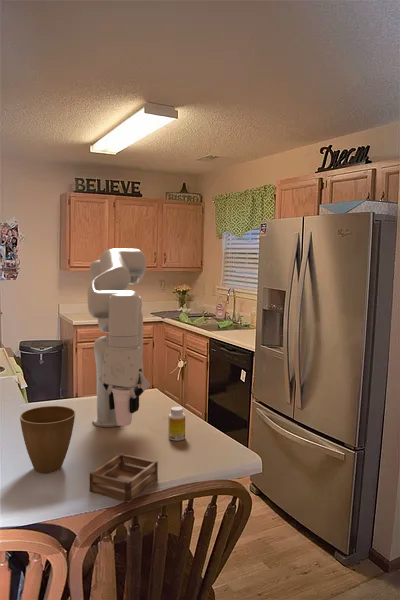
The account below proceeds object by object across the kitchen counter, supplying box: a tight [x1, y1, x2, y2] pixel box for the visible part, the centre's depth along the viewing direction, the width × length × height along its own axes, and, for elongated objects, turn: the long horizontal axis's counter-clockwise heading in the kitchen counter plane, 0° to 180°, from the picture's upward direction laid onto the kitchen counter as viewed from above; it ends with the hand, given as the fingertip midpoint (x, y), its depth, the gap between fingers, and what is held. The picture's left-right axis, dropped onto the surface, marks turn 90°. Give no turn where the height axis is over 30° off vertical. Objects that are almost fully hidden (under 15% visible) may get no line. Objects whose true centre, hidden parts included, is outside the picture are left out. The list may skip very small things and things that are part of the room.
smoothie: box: [112, 386, 136, 427], centre depth 124 cm, size 6×6×14 cm
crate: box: [88, 452, 159, 503], centre depth 126 cm, size 14×12×5 cm
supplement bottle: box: [167, 406, 186, 442], centre depth 159 cm, size 6×6×10 cm
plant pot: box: [19, 405, 76, 474], centre depth 136 cm, size 15×15×16 cm
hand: (124, 409), depth 125 cm, fingers closed on smoothie, 5 cm apart
